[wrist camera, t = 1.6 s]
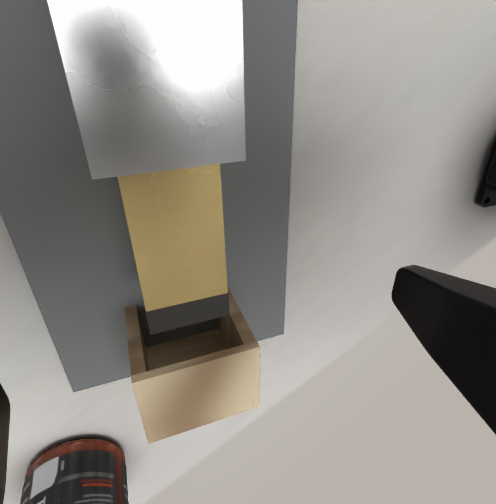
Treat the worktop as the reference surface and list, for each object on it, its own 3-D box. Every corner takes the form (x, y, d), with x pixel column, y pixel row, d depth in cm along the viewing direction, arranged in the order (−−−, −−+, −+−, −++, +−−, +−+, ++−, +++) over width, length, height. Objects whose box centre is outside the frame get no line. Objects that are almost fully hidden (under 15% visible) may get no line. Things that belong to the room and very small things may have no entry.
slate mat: (297, -124, 13) (303, -128, 13) (280, 329, 24) (283, 333, 24) (-152, -177, 9) (-161, -186, 9) (73, 386, 21) (73, 392, 20)
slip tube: (175, -110, 11) (201, -160, 8) (209, 274, 19) (229, 314, 16) (55, -122, 10) (40, -182, 7) (141, 288, 18) (150, 334, 15)
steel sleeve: (190, -121, 12) (237, -203, 8) (208, 130, 16) (245, 160, 12) (27, -138, 10) (-16, -248, 6) (93, 142, 15) (91, 179, 11)
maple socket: (226, 284, 20) (259, 346, 16) (229, 339, 23) (259, 406, 18) (124, 307, 19) (131, 383, 15) (138, 364, 21) (148, 443, 17)
